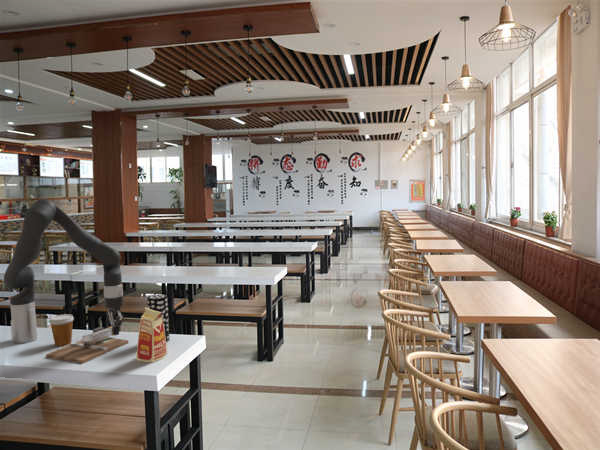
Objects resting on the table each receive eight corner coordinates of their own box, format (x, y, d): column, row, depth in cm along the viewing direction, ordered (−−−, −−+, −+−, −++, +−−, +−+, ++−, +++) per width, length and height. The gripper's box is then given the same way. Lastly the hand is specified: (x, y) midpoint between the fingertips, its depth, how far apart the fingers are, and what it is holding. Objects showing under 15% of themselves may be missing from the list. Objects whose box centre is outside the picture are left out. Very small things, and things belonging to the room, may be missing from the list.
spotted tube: (163, 345, 192) (161, 299, 190) (145, 344, 193) (143, 298, 191) (172, 338, 200) (170, 294, 198) (155, 337, 201) (153, 294, 200)
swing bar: (87, 346, 185) (86, 337, 185) (80, 344, 187) (80, 336, 187) (117, 335, 198) (116, 327, 198) (111, 334, 200) (110, 326, 200)
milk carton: (136, 360, 175) (133, 310, 173) (151, 352, 184) (148, 304, 182) (155, 363, 172) (152, 312, 170) (170, 354, 181) (167, 305, 179)
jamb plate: (46, 357, 181) (45, 342, 180) (93, 338, 203) (92, 325, 202) (83, 363, 173) (82, 348, 173) (128, 342, 195) (127, 329, 195)
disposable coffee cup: (76, 344, 195) (75, 317, 194) (52, 349, 190) (50, 321, 189) (73, 338, 203) (72, 312, 202) (49, 343, 197) (47, 316, 196)
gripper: (129, 295, 190) (131, 335, 191) (115, 291, 199) (117, 329, 200) (111, 299, 184) (114, 340, 186) (98, 294, 193) (100, 333, 195)
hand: (115, 334), depth 193 cm, fingers closed
